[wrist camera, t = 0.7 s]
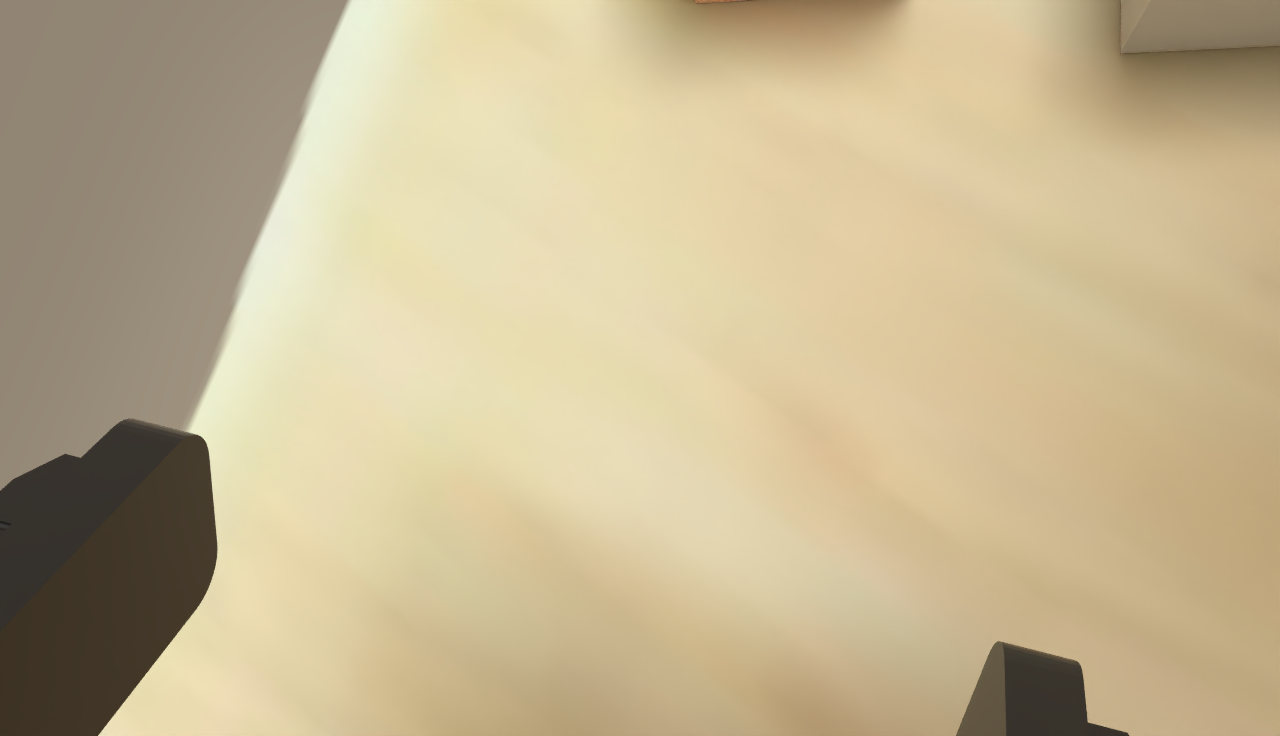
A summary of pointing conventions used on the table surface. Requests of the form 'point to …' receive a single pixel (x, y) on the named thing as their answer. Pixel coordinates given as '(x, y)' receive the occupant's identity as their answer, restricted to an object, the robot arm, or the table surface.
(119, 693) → the robot arm
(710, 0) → the terracotta clay block
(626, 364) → the table surface
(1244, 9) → the grey upright block
